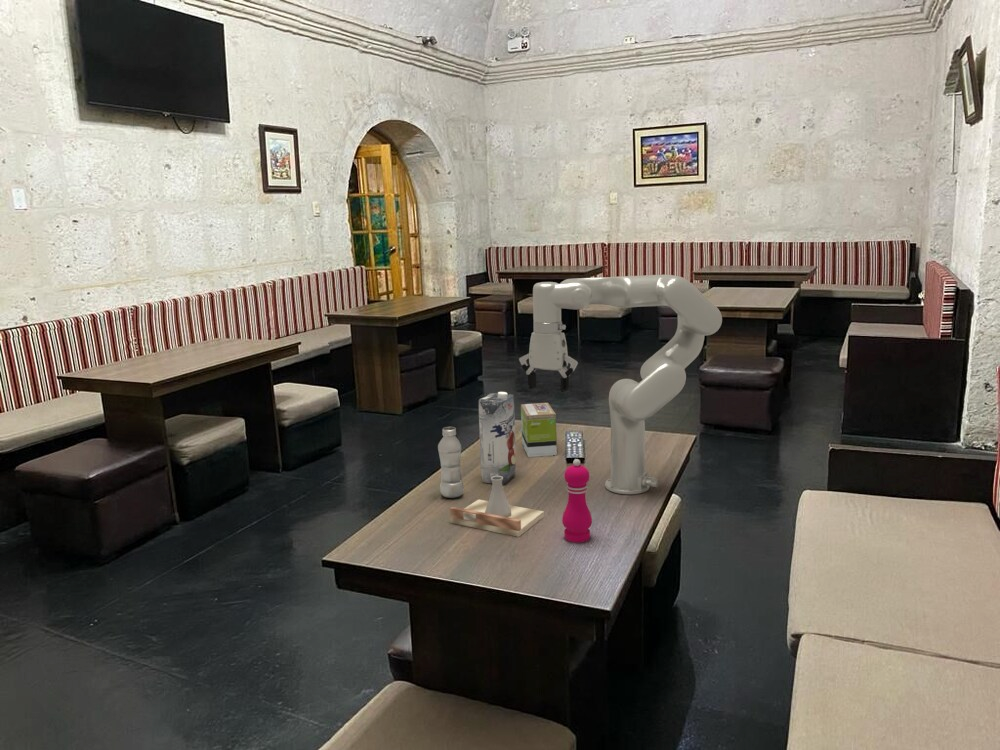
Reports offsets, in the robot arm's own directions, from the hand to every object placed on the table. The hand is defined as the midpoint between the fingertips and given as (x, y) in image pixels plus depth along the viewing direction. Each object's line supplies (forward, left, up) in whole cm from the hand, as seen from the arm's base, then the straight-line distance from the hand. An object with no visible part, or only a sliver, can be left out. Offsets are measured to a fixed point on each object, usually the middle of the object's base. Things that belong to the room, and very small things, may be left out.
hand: (548, 389), depth 207 cm
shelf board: (+4, +23, -30) cm, 38 cm away
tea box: (+21, -35, -31) cm, 51 cm away
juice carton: (+19, -4, -31) cm, 36 cm away
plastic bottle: (+24, +14, -31) cm, 41 cm away
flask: (+4, +23, -29) cm, 37 cm away
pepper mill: (-19, +24, -31) cm, 43 cm away
